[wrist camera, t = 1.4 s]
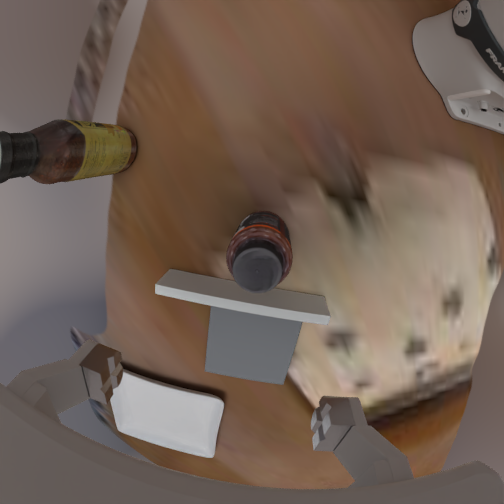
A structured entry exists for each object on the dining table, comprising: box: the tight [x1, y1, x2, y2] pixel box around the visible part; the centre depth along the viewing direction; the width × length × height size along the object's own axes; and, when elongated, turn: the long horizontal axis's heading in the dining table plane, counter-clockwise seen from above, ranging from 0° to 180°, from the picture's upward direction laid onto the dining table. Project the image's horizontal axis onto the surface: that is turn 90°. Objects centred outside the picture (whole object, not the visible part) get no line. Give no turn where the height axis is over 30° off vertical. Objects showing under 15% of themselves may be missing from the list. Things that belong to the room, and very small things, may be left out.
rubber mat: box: [205, 306, 302, 385], centre depth 37 cm, size 12×12×1 cm
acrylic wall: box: [155, 269, 331, 325], centre depth 33 cm, size 20×1×5 cm, turn 81°
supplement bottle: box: [226, 211, 292, 293], centre depth 27 cm, size 6×6×11 cm
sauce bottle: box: [0, 120, 137, 184], centre depth 21 cm, size 6×6×20 cm
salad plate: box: [110, 369, 224, 458], centre depth 43 cm, size 21×21×3 cm
